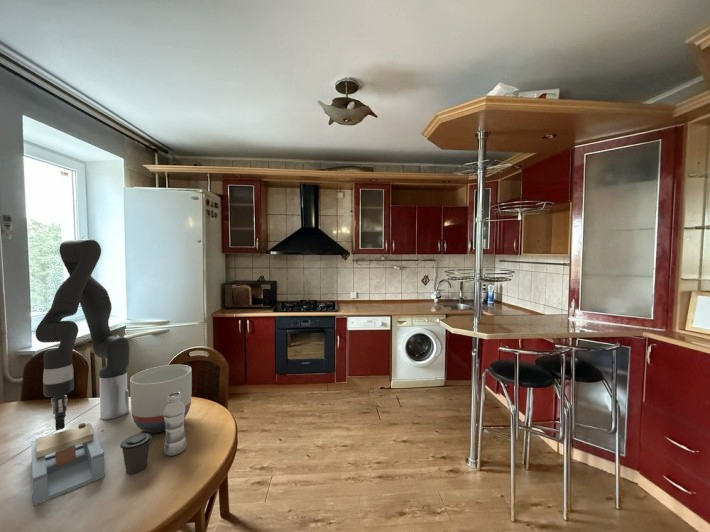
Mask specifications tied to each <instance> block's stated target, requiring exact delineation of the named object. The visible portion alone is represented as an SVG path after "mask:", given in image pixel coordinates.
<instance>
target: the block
mask: <svg viewBox="0 0 710 532" xmlns="http://www.w3.org/2000/svg"><path fill="white" fill-rule="evenodd" d="M55 459H56V466H59V465H62V464H65V463H68V462H70V461H73V460H76V449H75V446H73V447H70V448H67V449H64V450H61V451H58V452H55Z"/></svg>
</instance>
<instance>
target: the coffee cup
mask: <svg viewBox="0 0 710 532" xmlns="http://www.w3.org/2000/svg"><path fill="white" fill-rule="evenodd" d="M151 440H152V435H151V434H150V433H149V432H141V433H136V434H132V435H130V436H128V437H127V438H125V439H123V440H122V442H121V443H120V445H119V447H120V448H121V451H122V455H123V461H124V467H125V473H126V474H127V475H130V476H131V475H133V476H134V475H136V474H139V473H141V472H143V471H144V470H145V469H147V467H148V459H149V450H150V441H151Z"/></svg>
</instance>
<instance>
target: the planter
mask: <svg viewBox="0 0 710 532" xmlns="http://www.w3.org/2000/svg"><path fill="white" fill-rule="evenodd" d="M192 376H193V375H192V367H191V366H189V365H186V364H166V365H160V366H155V367H151V368H147V369H143V370H142V371H139V372H137V373H135V374H133V375H132V376H131V377H130V379H129V392H130V394H129V395H130V396H129V398H130V408H131V409H130V410H131V415H132V420H133V422H134V424H135V425H136V427H137V428H139V429H140V430H142V431H144V432H145V433H154V434H157V433H162V432H163V433H164V432H166V428H165V421H164V416H163V412H164V409H165V407H166V406H167V404H168V403H169V402H168V395H169V394H172V393H176V392H179V393H180V397H181V399H180V401H181V402H182V403H183V404H184V406H185V415H184V419H185V418H186V416H187V415H188V413H189V411H190V408H191V403H192V387H193V383H192V380H193V377H192Z"/></svg>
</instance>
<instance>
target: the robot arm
mask: <svg viewBox="0 0 710 532" xmlns="http://www.w3.org/2000/svg"><path fill="white" fill-rule="evenodd" d="M59 255H60V258H61V261H62V263H63V265H64V267H65V269H66V270H67V272H68V275H69V276H68V277H67V278H65V280H64V282H62V283H61V285H60V286H59V287H58V289H56V292H55V294H54V297H53V300H52V303H51V307H50V308H49V310H48V312H46V314H45V316H44V317H43V318H42V320H41V321H40V322H39V324H38V325H37V326H36V330H35V332H34V333H35V337H36V340H37V341H38V342H40V343H44V344H45V343H59V345H58V347H54V348H51V349H48V350H46V351H45V352H44V354H43V374H42V377H43V378H42V383H43V395H44V397H48V398H50V397H51V398H50V402H51V403H50V404H51V407H52V414H53V415H54V416H53V418H54V421H55V427H54V428H55V430H56V431H60V430H63V429H65V428H66V427H65V426H66V425H65V418H66V416H67V415H66V411H67V410H68V402H69V401H68V396H67V394H69V393H70V392H72V391H73V390H74V389H75V380H74V379H75V377H74V367H73V366H74V365H73V351H74V347H75V343H76V340H77V337H78V333H79V327H78V324H77V323H76V322H75V321H73V320H63V319H64V318H68V317H72V316H75V315H76V313H77V312H78V309H79V307H81V310H82V313H83V315H84V318H85V321H86V324H87V327H88V330H89V335H90V338H91V344H92V349H93V353H94V354H95V355H96V356H97V357H98V358H100V359H106V360H107V361H106V366H104V367H102V368H100V370H99V373H98V376H99V411H100V412H99V414H100V415H99V416H100V419H101V420H113V419H116V418H119V417H122V416H124V415H126V414H128V413H130V396H129V395H130V394H129V392H130V390H129V389H128V367H129V364H130V350H131V349H130V343H129V340H128V339H127V338H126V337H123V336H113V334H112V331H111V329H110V328H111V327H110V324H109V320H110V317H111V312H112V307H113V306H112V302H111V299H110V296H109V295H110V294H109V293H108V290H107V289H106V288H105V287H104V286H103V285H102V284H101V282H98V281H97V280H96V279H95V278H94V277H93V276H92V274H93V272H94V270H95V268H96V267H97V265H98V263H99V260H100V259H101V255H102V247H101V244H100V243H99V242H98V241H97V240H95V239H92V238H82V239H70V240H69V239H68V240H64V241H63V242H61V244H60V245H59ZM52 397H53V398H52Z"/></svg>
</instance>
